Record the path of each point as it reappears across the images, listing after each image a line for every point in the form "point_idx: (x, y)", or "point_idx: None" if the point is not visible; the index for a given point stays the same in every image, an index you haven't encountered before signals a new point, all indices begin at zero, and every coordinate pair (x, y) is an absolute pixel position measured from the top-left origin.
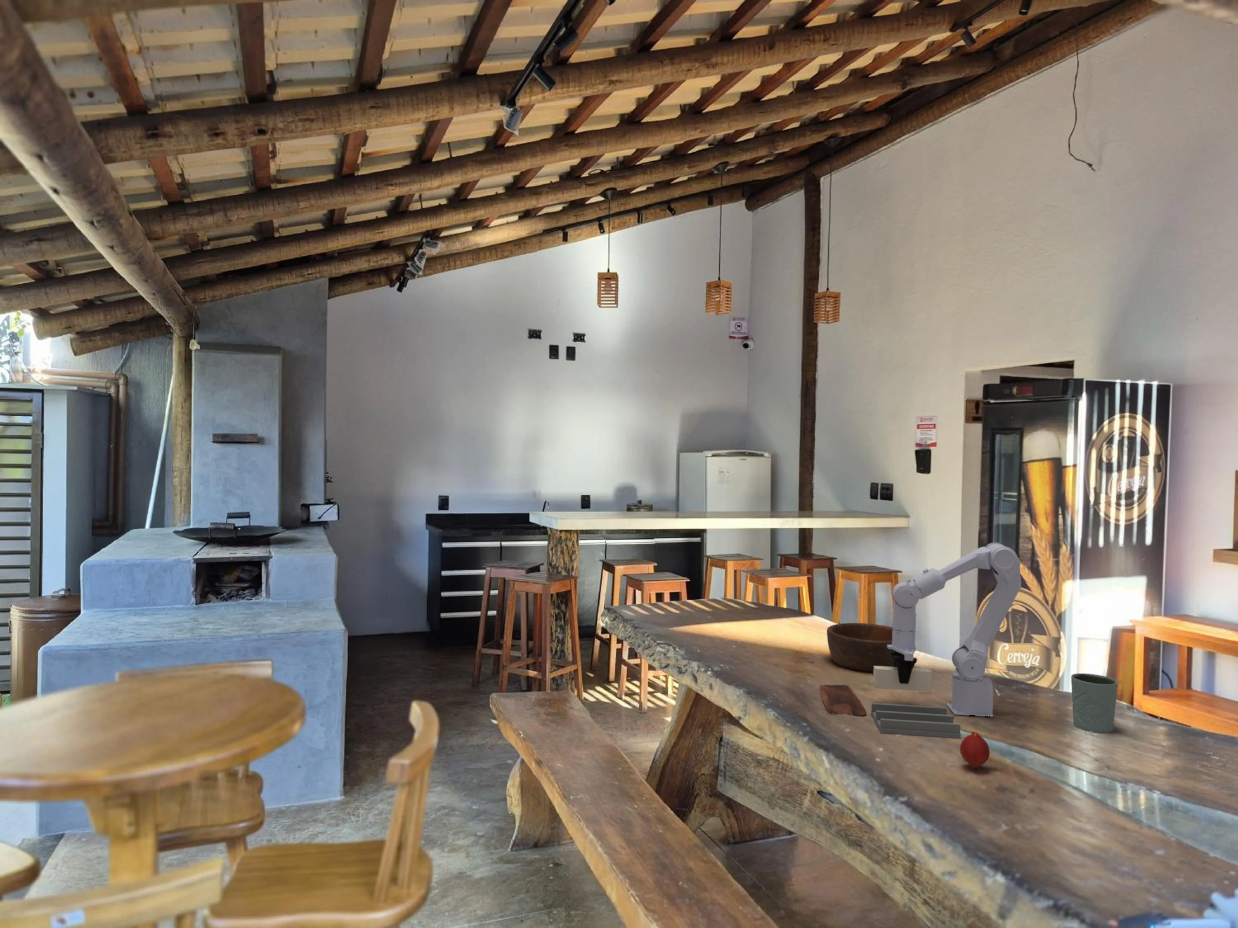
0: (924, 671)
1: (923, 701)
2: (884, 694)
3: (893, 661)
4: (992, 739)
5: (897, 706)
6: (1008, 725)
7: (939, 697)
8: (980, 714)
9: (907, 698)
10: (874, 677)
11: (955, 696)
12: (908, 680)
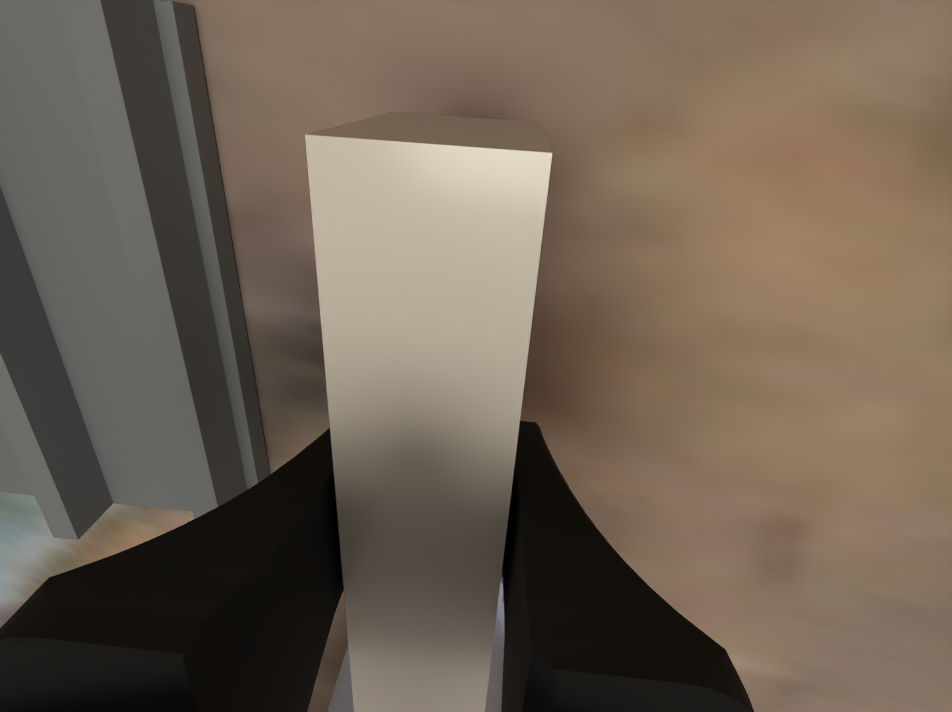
0: (359, 706)
1: (591, 491)
2: (773, 282)
3: (598, 548)
4: (35, 582)
5: (129, 248)
6: None
7: (674, 589)
8: None
9: (658, 419)
10: (444, 125)
11: None
12: None
